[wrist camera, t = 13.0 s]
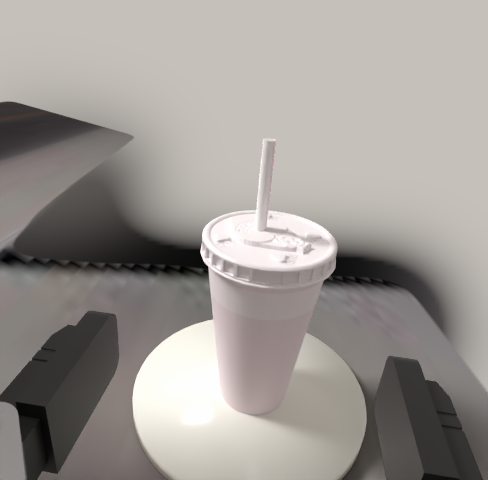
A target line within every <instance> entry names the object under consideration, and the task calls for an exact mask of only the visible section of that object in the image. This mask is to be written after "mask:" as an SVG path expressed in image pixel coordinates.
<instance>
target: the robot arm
mask: <svg viewBox="0 0 488 480" xmlns="http://www.w3.org/2000/svg"><path fill="white" fill-rule="evenodd" d="M118 360H119V347H118V332H117V319H116V316H115V315H114V314H110V313H103V312H96V311H88V312H87V313H86V314H85V315H84V316H83V318H82V319H81V320H80V321H79V323H78V324H77V325H76V326H72V325H67V326H66V327H64V328H62V329H61V330H59V331H58V332H56V333H54V334H53V335H52V336H51V337H50V338H49V339H48V340H47V341H46V343H45V344H44V345H43V346H42V347H41V350H39V351H38V352H37V353H36V354H35V355H34V357H33V358H32V361H29V362H28V364H27V365H26V366H25V367H24V368H23V369H22V371H21V372H20V373H19V374H18V375H17V376H16V378H15V379H14V380H13V381H12V382H11V383H10V385H9V386H8V387H7V388H6V389H5V390H4V392H3V393H2V394H1V395H0V480H37V479H38V477H39V475H40V474H41V472H42V471H45V472H50V473H56V474H58V472H59V470H60V469H61V467H62V465H63V463H64V462H65V460H66V458H67V456H68V455H69V453H70V451H71V449H72V448H73V446H74V444H75V442H76V441H77V439H78V437H79V435H80V434H81V432H82V430H83V428H84V427H85V425H86V423H87V421H88V420H89V418H90V416H91V414H92V413H93V411H94V409H95V407H96V406H97V404H98V402H99V400H100V399H101V397H102V395H103V393H104V392H105V390H106V388H107V386H108V385H109V383H110V381H111V379H112V378H113V376H114V374H115V371H116V369H117V365H118ZM456 415H457V414H456V412H455V409H454V407H453V404H452V402H451V399H450V397H449V396H448V395H447V394H446V392H445V391H444V390H443V389H442V388H441V387H440V386H439V384H438V383H437V382H435V381H428V380H425V378H424V375H423V372H422V369H421V366H420V364H419V362H418V361H417V360H415V359H408V358H401V357H394V356H389V357H388V358H387V361H386V364H385V367H384V371H383V374H382V377H381V381H380V384H379V387H378V391H377V394H376V399H375V419H376V425H377V430H378V436H379V441H380V447H381V452H382V457H383V463H384V468H385V474H386V479H387V480H483V479H482V476H481V474H480V471H479V469H478V466H477V464H476V461H475V459H474V456H473V454H472V451H471V449H470V446H469V444H468V441H467V439H466V436H465V434H464V432H462V426H461V424H460V421H459V419H458V418H457V417H456Z"/></svg>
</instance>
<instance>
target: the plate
mask: <svg viewBox="0 0 488 480" xmlns="http://www.w3.org/2000/svg"><path fill="white" fill-rule="evenodd" d="M133 416H134V425H135V429H136V434H137V437H138V439H139V442H140V444H141V446H142V449H143V450H144V452H145V454H146V455H147V457H148V458H149V460H150V462H151V463H152V464H153V465H154V466H155V467H156V469H157V470H158V471H159V472H160V473H161V474H162V475H163V476H164V477H165V478H166V479H168V480H342V479H343V477H344V476H345V475H346V474H347V473H348V471H349V470H350V469H351V467H352V465H353V464H354V462H355V460H356V458H357V456H358V453H359V450H360V448H361V445H362V441H363V438H364V435H365V429H366V422H367V414H366V404H365V399H364V395H363V393H362V390H361V387H360V385H359V383H358V381H357V379H356V377H355V375H354V374H353V372H352V371H351V369H350V368H349V367H348V365H347V364H346V363H345V362H344V361H343V360H342V358H341V357H340V356H339V355H338V354H336V353H335V352H334V351H333V350H332V349H331V348H330V347H328V346H327V345H326V344H324V343H323V342H322V341H320V340H318V339H317V338H315V337H313V336H312V335H310V334H308V333H306V334H305V337H304V340H303V343H302V346H301V349H300V352H299V355H298V358H297V361H296V364H295V367H294V370H293V373H292V376H291V379H290V382H289V385H288V388H287V391H286V394H285V397H284V400H283V402H282V403H281V405H280V406H279V407H278V408H276V409H275V410H273V411H272V412H269V413H266V414H262V415H249V414H244V413H241V412H238V411H236V410H235V409H233V408H231V407H230V406H229V405H228V404H227V403H226V402H225V401H224V399H223V398H222V395H221V392H220V383H219V373H218V362H217V352H216V341H215V331H214V321H213V320H209V321H205V322H201V323H198V324H195V325H192V326H190V327H187V328H184V329H183V330H181V331H179V332H177V333H175V334H173V335H172V336H170V337H169V338H167V339H166V340H164V341H163V342H162V343H161V344H160V345H159V346H157V347H156V348H155V349H154V350H153V352H152V353H151V354H150V355H149V356H148V357H147V359H146V360H145V362H144V363H143V365H142V367H141V369H140V371H139V373H138V375H137V378H136V382H135V385H134V391H133Z"/></svg>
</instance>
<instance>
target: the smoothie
mask: <svg viewBox="0 0 488 480" xmlns="http://www.w3.org/2000/svg"><path fill="white" fill-rule="evenodd" d="M275 142H276V140H275V139H270V138H264V139H263V144H262V154H261V165H260V176H259V187H258V197H257V208H256V210H247V211H239V212H233V213H229V214H225V215H222V216H219V217H217V218H215V219H214V220H212V221H211V222H209V223H208V224H207V225H206V226H205V228H204V230H203V233H202V246H201V252H200V253H201V256H202V258H203V261H204V262H205V263H206V264H207V265H208V267H209V280H210V290H211V300H212V310H213V321H214V331H215V341H216V352H217V362H218V373H219V383H220V392H221V395H222V398H223V399H224V401H225V402H226V403H227V404H228V405H229V406H230V407H231V408H233V409H235V410H236V411H238V412H241V413H244V414H249V415H262V414H266V413H269V412H272V411H273V410H275V409H276V408H278V407H279V406H280V405H281V403H282V402H283V400H284V397H285V394H286V391H287V388H288V385H289V382H290V379H291V376H292V373H293V370H294V367H295V364H296V361H297V358H298V355H299V352H300V349H301V346H302V343H303V340H304V337H305V334H306V331H307V328H308V325H309V322H310V319H311V316H312V313H313V310H314V307H315V305H316V302H317V299H318V296H319V293H320V290H321V287H322V283H323V280H325V279H327V278H328V277H329V276H330V275H331V274H332V272H333V271H334V270H335V264H336V259H335V258H336V253H337V242H336V240H335V239H334V237H333V236H332V235H331V234H330V233H329V232H328V231H327V230H326V229H324V228H323V227H321V226H320V225H318V224H316V223H314V222H313V221H310V220H308V219H305V218H302V217H299V216H296V215H292V214H287V213H282V212H275V211H268V208H269V198H270V190H271V189H270V188H271V180H272V171H273V162H274V153H275Z"/></svg>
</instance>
